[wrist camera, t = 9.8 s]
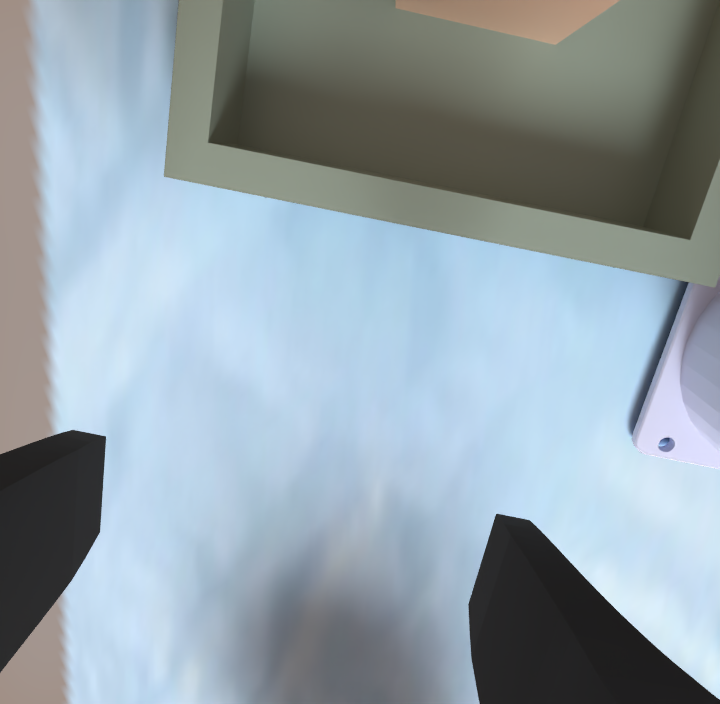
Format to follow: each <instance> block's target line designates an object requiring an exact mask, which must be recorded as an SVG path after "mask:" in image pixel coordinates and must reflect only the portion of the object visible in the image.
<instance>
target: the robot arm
mask: <svg viewBox="0 0 720 704" xmlns="http://www.w3.org/2000/svg"><path fill="white" fill-rule="evenodd" d="M667 437H670V440H669V442H668V444H667V445H665V446H658V444H659V442H660V440H661V439H663V438H667ZM632 442H633V445H634V446H635V447H636V448H637V449H638V450H639V451H640V452H641V453H643V454H646V455H650V456H655V457H660V458H665V459H670V460H675V461H680V462H686V463H691V464H696V465H701V466H706V467H711V468H716V469H720V276H719V278H718V281H717V283H716V286H715V288H714V287H709V286H705V285H700V284H695V283H690V282H689V283H688V286H687V289H686V291H685V294H684V297H683V299H682V302H681V305H680V307H679V310H678V313H677V316H676V318H675V321H674V324H673V326H672V329H671V332H670V334H669V337H668V340H667V342H666V345H665V348H664V351H663V353H662V356H661V359H660V361H659V364H658V367H657V369H656V372H655V375H654V377H653V380H652V383H651V386H650V388H649V391H648V394H647V396H646V399H645V402H644V404H643V407H642V410H641V412H640V415H639V418H638V421H637V423H636V426H635V429H634V431H633V434H632ZM105 444H106V436H101V435H96V434H90V433H85V432H80V431H75V430H71V431H67V432H63V433H60V434H57V435H54V436H50V437H47V438H45V439H42V440H39V441H36V442H33V443H30V444H28V445H25V446H22V447H20V448H17V449H14V450H11V451H9V452H6V453H3V454H0V672H1V671H2V669H3V668H4V667H5V666H6V665H7V663H8V662H9V661H10V659H11V658H12V657H13V656H14V654H15V653H16V652H17V650H18V649H19V648H20V647H21V645H22V644H23V643H24V641H25V640H26V639H27V638H28V636H29V635H30V634H31V633H32V631H33V630H34V629H35V627H36V626H37V625H38V624H39V622H40V621H41V620H42V619H43V617H44V616H45V615H46V613H47V612H48V611H49V609H50V608H51V607H52V606H53V604H54V603H55V602H56V600H57V599H58V598H59V596H60V595H61V594H62V592H63V591H64V590H65V588H66V587H67V586H68V584H69V583H70V582H71V580H72V579H73V577H74V576H75V574H76V572H77V571H78V569H79V567H80V566H81V564H82V562H83V561H84V559H85V557H86V556H87V554H88V552H89V550H90V549H91V547H92V545H93V543H94V542H95V540H96V538H97V536H98V534H99V533H100V522H101V507H102V491H103V475H104V460H105ZM469 625H470V642H471V657H472V663H473V669H474V675H475V680H476V686H477V691H478V697H479V702H480V704H720V700H719V699H718V698H717V697H715V696H714V695H713V694H711V693H710V692H709V691H708V690H706V689H705V688H704V687H703V686H702V685H700V684H699V683H698V682H697V681H695V680H694V679H693V678H692V677H691V676H689V675H688V674H687V673H686V672H685V671H683V670H682V669H681V668H680V667H678V666H677V665H676V664H675V663H674V662H672V661H671V660H670V659H669V658H668V657H667V656H665V655H664V654H663V653H662V652H661V651H660V650H659V649H657V648H656V647H655V646H654V645H653V644H652V643H651V642H650V641H649V640H648V639H647V638H645V637H644V636H643V635H642V634H641V633H640V632H639V631H638V630H637V629H636V628H635V627H634V626H633V625H632V624H631V623H629V622H628V621H627V620H626V619H625V618H624V617H623V616H622V615H621V614H620V613H619V612H618V611H617V610H616V609H615V608H614V607H613V606H612V605H611V604H610V603H609V602H608V601H607V600H606V599H605V598H604V597H603V596H602V595H601V594H600V593H599V592H598V591H597V590H596V589H595V588H594V587H593V586H592V585H591V584H590V583H589V582H588V581H587V580H586V579H585V577H584V576H583V575H582V574H581V573H580V572H579V571H578V570H577V569H576V568H575V567H574V566H573V565H572V564H571V563H570V562H569V560H568V559H567V558H566V557H565V556H564V555H563V554H562V553H561V552H560V551H559V550H558V549H557V548H556V547H555V545H554V544H553V543H552V542H551V541H550V540H549V539H548V538H547V537H546V536H545V535H544V534H543V533H542V532H541V531H540V530H539V529H538V528H537V527H536V526H535V525H534V524H533V523H532V522H531V521H530V520H526V519H521V518H516V517H510V516H505V515H500V514H496V516H495V520H494V523H493V526H492V529H491V533H490V536H489V539H488V543H487V546H486V549H485V552H484V556H483V559H482V562H481V565H480V569H479V572H478V575H477V579H476V582H475V585H474V588H473V592H472V595H471V598H470V601H469Z"/></svg>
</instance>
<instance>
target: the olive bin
mask: <svg viewBox="0 0 720 704" xmlns="http://www.w3.org/2000/svg"><path fill="white" fill-rule="evenodd" d="M164 177H169V178H174V179H179V180H184V181H189V182H194V183H199V184H204V185H208V186H213V187H218V188H223V189H228V190H233V191H238V192H243V193H248V194H253V195H258V196H263V197H268V198H273V199H278V200H283V201H288V202H293V203H298V204H303V205H308V206H313V207H318V208H323V209H328V210H333V211H337V212H342V213H347V214H352V215H357V216H362V217H367V218H372V219H377V220H382V221H387V222H392V223H397V224H402V225H407V226H412V227H417V228H422V229H427V230H432V231H437V232H442V233H447V234H452V235H457V236H461V237H466V238H471V239H476V240H481V241H486V242H491V243H496V244H501V245H506V246H511V247H516V248H521V249H526V250H531V251H536V252H541V253H546V254H551V255H556V256H561V257H566V258H571V259H576V260H581V261H585V262H590V263H595V264H600V265H605V266H610V267H615V268H620V269H625V270H630V271H635V272H640V273H645V274H650V275H655V276H660V277H665V278H670V279H675V280H680V281H685V282H690V283H695V284H700V285H705V286H709V287H714V288H715V286H716V283H717V281H718V278H719V276H720V0H620V1H618V2H617V3H615V4H614V5H613V6H611V7H610V8H608V9H607V10H605V11H604V12H602V13H601V14H600V15H598V16H597V17H595V18H594V19H592V20H591V21H589V22H588V23H586V24H585V25H584V26H582V27H581V28H579V29H578V30H576V31H575V32H573V33H572V34H571V35H569V36H568V37H566V38H565V39H563V40H562V41H560V42H559V43H557V44H556V45H554V44H550V43H546V42H541V41H537V40H532V39H528V38H524V37H519V36H515V35H511V34H506V33H502V32H497V31H493V30H489V29H484V28H480V27H476V26H471V25H467V24H462V23H458V22H454V21H449V20H445V19H441V18H436V17H432V16H427V15H423V14H419V13H414V12H410V11H406V10H401V9H397V8H396V0H179V5H178V17H177V28H176V40H175V52H174V64H173V75H172V87H171V99H170V111H169V122H168V134H167V146H166V158H165V169H164Z"/></svg>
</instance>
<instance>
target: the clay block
mask: <svg viewBox="0 0 720 704" xmlns="http://www.w3.org/2000/svg"><path fill="white" fill-rule="evenodd" d="M618 1H620V0H396V8H397V9H401V10H406V11H410V12H414V13H419V14H423V15H427V16H432V17H436V18H441V19H445V20H449V21H454V22H458V23H462V24H467V25H471V26H476V27H480V28H484V29H489V30H493V31H497V32H502V33H506V34H511V35H515V36H519V37H524V38H528V39H532V40H537V41H541V42H546V43H550V44H554V45H556V44H557V43H559V42H560V41H562V40H563V39H565V38H566V37H568V36H569V35H571V34H572V33H573V32H575V31H576V30H578V29H579V28H581V27H582V26H584V25H585V24H586V23H588V22H589V21H591V20H592V19H594V18H595V17H597V16H598V15H600V14H601V13H602V12H604V11H605V10H607V9H608V8H610V7H611V6H613V5H614V4H615V3H617V2H618Z"/></svg>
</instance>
